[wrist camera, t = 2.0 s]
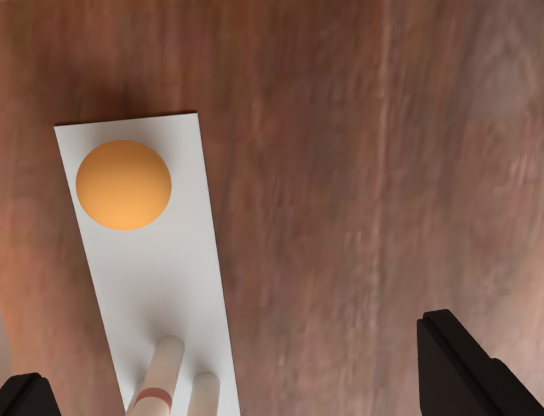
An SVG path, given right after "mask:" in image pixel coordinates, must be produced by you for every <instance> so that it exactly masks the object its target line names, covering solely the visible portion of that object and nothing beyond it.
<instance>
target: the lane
mask: <svg viewBox="0 0 544 416" xmlns="http://www.w3.org/2000/svg"><path fill="white" fill-rule="evenodd" d="M54 129H55V133H56V136H57V140H58V144H59V148H60V152H61V156H62V160H63V164H64V168H65V172H66V176H67V180H68V184H69V188H70V192H71V196H72V200H73V204H74V208H75V212H76V216H77V220H78V224H79V228H80V232H81V236H82V240H83V244H84V248H85V252H86V256H87V260H88V264H89V268H90V272H91V276H92V280H93V284H94V288H95V292H96V296H97V300H98V304H99V308H100V312H101V316H102V320H103V323H104V327H105V331H106V335H107V339H108V343H109V347H110V351H111V355H112V359H113V363H114V367H115V371H116V375H117V379H118V383H119V387H120V391H121V395H122V399H123V403H124V407H125V411H126V412H127V409H128V406H129V404H130V401H131V398H132V396H133V393H134V390H135V388H136V385H137V384H138V382H140V381H141V380H143V379H145V376H146V373H147V370H148V368H149V365H150V362H151V359H152V356H153V354H154V351H155V348H156V345H157V343H158V341H159V340H160V339H162V338H164V337H167V336H173V337H176V338H178V339H180V340H181V341H182V342H183V343H184V346H185V352H184V356H183V360H182V364H181V368H180V372H179V376H178V380H177V384H176V388H175V392H174V396H173V400H172V407H171V411H170V415H169V416H187V411H188V405H189V400H190V395H191V390H192V385H193V381H194V379H195V377H196V376H197V375H199V374H201V373H212V374H214V375H216V376H217V377H218V378H219V380H220V383H221V385H220V395H219V404H218V413H217V416H241V415H240V408H239V401H238V394H237V387H236V380H235V373H234V366H233V359H232V352H231V345H230V338H229V331H228V324H227V317H226V310H225V303H224V296H223V289H222V282H221V275H220V268H219V261H218V254H217V247H216V240H215V233H214V226H213V219H212V212H211V205H210V198H209V191H208V184H207V177H206V170H205V163H204V156H203V149H202V142H201V135H200V128H199V121H198V114H197V113H193V114H182V115H172V116H161V117H151V118H140V119H130V120H119V121H109V122H98V123H88V124H77V125H67V126H56V127H54ZM115 140H130V141H135V142H139V143H142V144H144V145H146V146H148V147H150V148H151V149H152V150H154V151H155V152H156V153H157V154H158V155H159V156H160V157H161V158H162V159H163V161H164V162H165V164H166V166H167V167H168V170H169V173H170V176H171V183H172V189H171V196H170V199H169V202H168V204H167V206H166V208H165V210H164V211H163V213H162V214H161V215H160V216H159V217H158V218H157V219H156V220H154V221H153V222H152V223H150V224H148V225H146V226H144V227H142V228H139V229H135V230H127V231H121V230H114V229H110V228H107V227H105V226H102V225H100V224H99V223H97V222H95V221H94V220H93V219H92V218H90V217H89V216H88V215H87V213H86V212H85V211H84V210H83V208H82V206H81V204H80V202H79V200H78V197H77V193H76V184H75V183H76V176H77V172H78V169H79V166H80V164H81V163H82V161H83V160H84V158H85V157H86V156H87V155H88V154H89V153H90V152H91V151H92V150H93V149H95V148H96V147H98V146H100V145H102V144H104V143H107V142H110V141H115Z"/></svg>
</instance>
